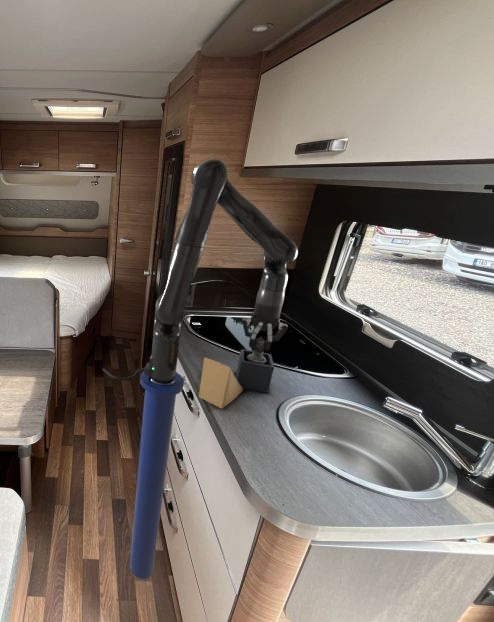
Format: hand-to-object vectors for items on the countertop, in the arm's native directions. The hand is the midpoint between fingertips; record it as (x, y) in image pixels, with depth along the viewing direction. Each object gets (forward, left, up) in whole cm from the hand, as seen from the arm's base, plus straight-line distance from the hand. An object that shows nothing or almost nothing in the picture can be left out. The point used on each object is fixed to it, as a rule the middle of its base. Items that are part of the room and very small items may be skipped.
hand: (258, 348), depth 114 cm
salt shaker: (0, 0, -7) cm, 7 cm away
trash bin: (0, 0, -13) cm, 13 cm away
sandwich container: (-9, -11, -14) cm, 20 cm away
